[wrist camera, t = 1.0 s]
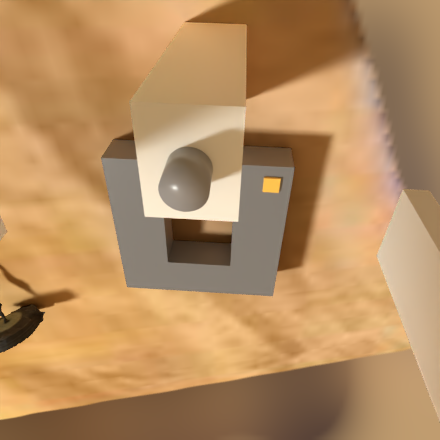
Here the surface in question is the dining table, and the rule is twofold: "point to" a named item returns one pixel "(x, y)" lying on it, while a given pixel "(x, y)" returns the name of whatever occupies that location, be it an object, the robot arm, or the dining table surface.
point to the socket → (203, 251)
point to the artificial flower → (18, 326)
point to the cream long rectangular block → (193, 124)
